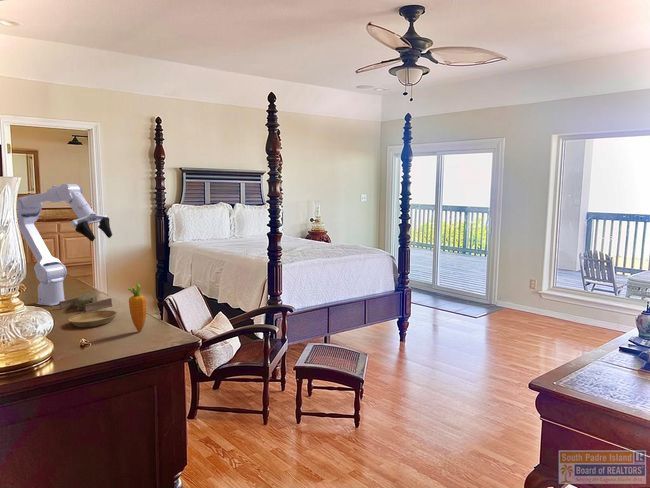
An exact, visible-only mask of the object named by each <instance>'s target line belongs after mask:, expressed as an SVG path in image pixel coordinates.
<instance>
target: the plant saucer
mask: <svg viewBox="0 0 650 488" xmlns="http://www.w3.org/2000/svg"><path fill="white" fill-rule="evenodd" d="M117 313H118V312H117V311H115V310H109V309H108V310H106V309H105V310H103V309H101V310H96V311H92V312H86V313H85V312H82V313H79V314H75V315H72V316H70V317H69V318H68V322H70V323H71V324H72V325H74V326H75V327H78V328H93V327H97V326H98V327H99V326H103V325H106V324H109V323H110V322H112V321H113V320H114V318H115V317H116V316H117Z"/></svg>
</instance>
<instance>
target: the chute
mask: <svg viewBox="0 0 650 488" xmlns="http://www.w3.org/2000/svg"><path fill="white" fill-rule="evenodd" d="M78 297H79V296H78ZM78 297H73V298H69V299H64V301H60V302H59V304H58V305H59V310H65V309H70V308H73V307H78V306H77V299H78ZM112 306H113V300H112V298H110V297H109V298H105V299H102V300H97V302H93V303H89V304H85V305H84V313H86V312H92V311H100V310H103V309H106V308H110V307H112Z"/></svg>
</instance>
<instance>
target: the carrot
mask: <svg viewBox="0 0 650 488" xmlns="http://www.w3.org/2000/svg"><path fill="white" fill-rule="evenodd" d="M141 288H142V286H141V285H140V283H138V282H137V283H136V288H135V286H131V287H128V288H127V290H128V291H130V292H131V293H132V294H133V295H132V296H130V297H128V305H129V306H128V307H129V313H130V318H131V321H132V323H133V326H134V327H135V329H136V330H137V332H139V333H141V332H142V330H143V328H144V325H145V322H146V317H147V299H146V296H144V295H142V294H140V291H141Z"/></svg>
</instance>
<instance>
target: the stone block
mask: <svg viewBox="0 0 650 488" xmlns="http://www.w3.org/2000/svg"><path fill="white" fill-rule="evenodd" d="M97 298H98V297H97V293H96V292H92V293H91V292H89V293H81V294H80V295H79V296H78V299H77V306H76V307H77V310H78V311H81V312H83V311H84V312H85V310H84V305H85V304H89V303H93V302H97V301H98V299H97Z"/></svg>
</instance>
